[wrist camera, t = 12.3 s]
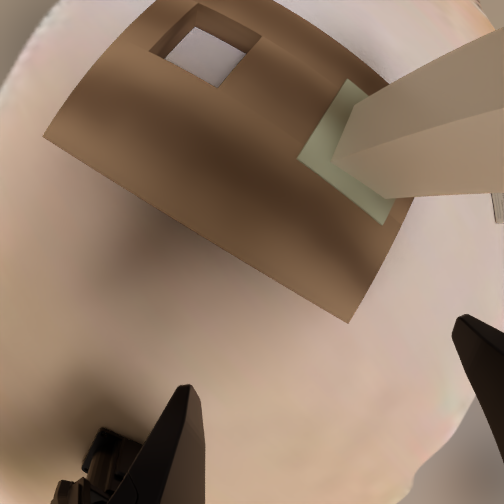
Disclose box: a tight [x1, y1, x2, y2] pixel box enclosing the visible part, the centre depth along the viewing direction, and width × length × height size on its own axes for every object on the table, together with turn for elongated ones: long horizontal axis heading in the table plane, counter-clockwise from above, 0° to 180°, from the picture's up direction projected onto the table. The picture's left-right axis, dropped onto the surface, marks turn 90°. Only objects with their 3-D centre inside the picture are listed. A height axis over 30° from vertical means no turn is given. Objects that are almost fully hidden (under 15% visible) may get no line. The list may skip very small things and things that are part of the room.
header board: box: [42, 0, 414, 324], centre depth 18 cm, size 16×22×3 cm
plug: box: [330, 27, 504, 199], centre depth 11 cm, size 5×5×14 cm
